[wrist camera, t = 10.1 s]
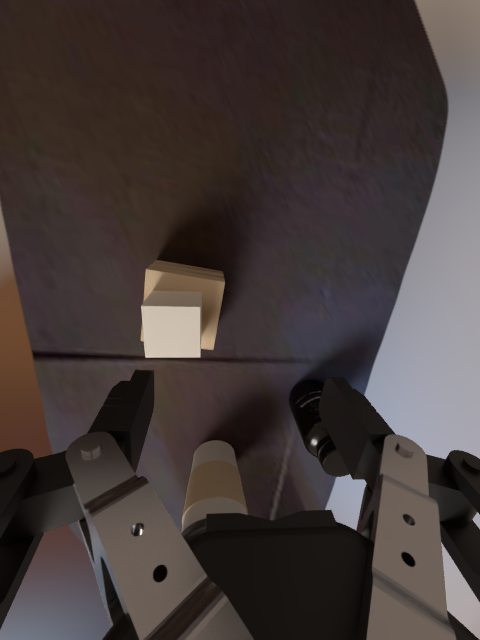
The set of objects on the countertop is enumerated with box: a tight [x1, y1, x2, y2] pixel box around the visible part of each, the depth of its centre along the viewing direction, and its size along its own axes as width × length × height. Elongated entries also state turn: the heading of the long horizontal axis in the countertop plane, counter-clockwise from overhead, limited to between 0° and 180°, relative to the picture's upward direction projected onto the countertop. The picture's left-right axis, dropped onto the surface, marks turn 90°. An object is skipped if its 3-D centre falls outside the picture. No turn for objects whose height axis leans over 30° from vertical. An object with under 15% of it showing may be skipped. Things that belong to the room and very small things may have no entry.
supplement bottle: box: [289, 380, 350, 477], centre depth 37 cm, size 7×7×12 cm
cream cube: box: [141, 291, 202, 357], centre depth 27 cm, size 5×5×5 cm
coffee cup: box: [181, 440, 248, 536], centre depth 38 cm, size 9×9×15 cm
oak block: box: [141, 260, 225, 350], centre depth 32 cm, size 8×8×6 cm
